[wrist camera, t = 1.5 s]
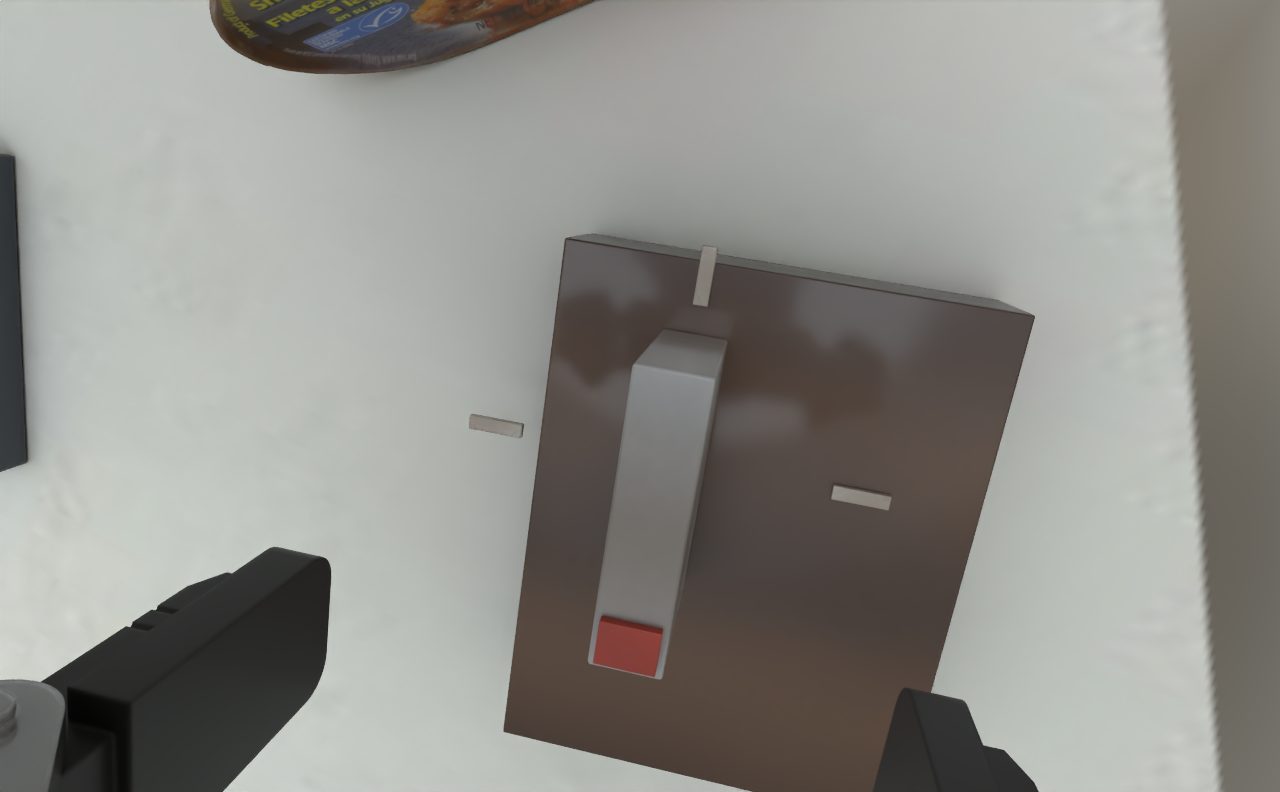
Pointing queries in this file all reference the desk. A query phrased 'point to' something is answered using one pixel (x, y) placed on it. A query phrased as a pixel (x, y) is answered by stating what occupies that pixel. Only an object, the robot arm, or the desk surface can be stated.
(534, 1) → the tin
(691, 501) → the tap handle
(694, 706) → the panel
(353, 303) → the desk surface
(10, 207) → the button block
